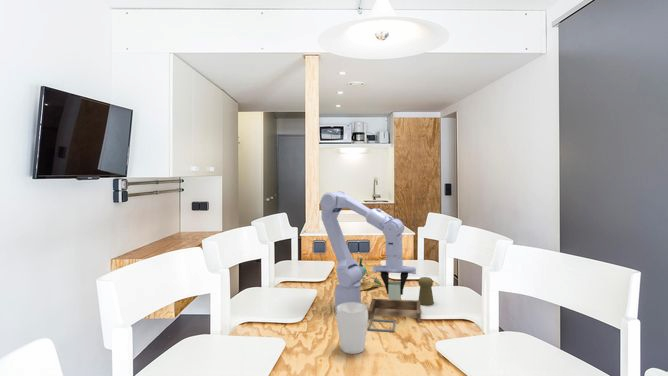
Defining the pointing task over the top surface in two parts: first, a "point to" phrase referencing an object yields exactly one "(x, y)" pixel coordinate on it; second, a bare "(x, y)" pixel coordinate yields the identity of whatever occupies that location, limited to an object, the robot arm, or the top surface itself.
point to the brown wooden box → (395, 308)
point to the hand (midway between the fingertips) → (394, 293)
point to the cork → (425, 291)
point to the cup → (352, 326)
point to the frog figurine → (367, 284)
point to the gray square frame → (381, 329)
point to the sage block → (394, 290)
